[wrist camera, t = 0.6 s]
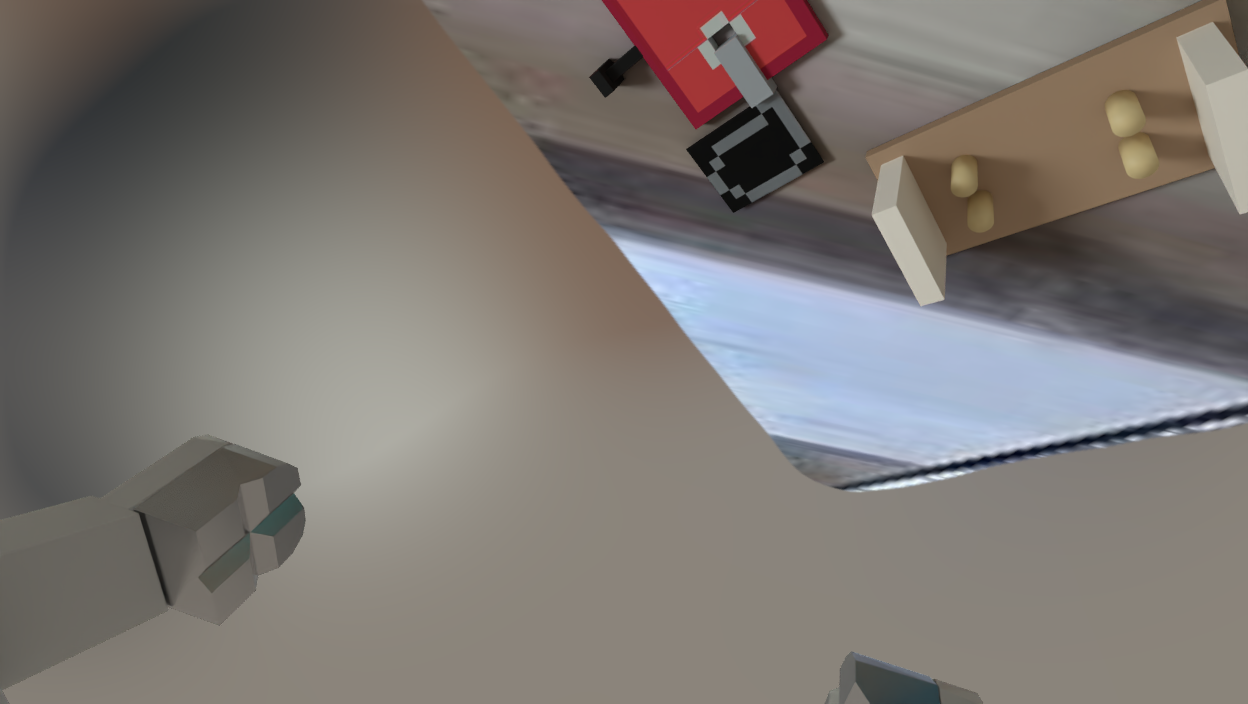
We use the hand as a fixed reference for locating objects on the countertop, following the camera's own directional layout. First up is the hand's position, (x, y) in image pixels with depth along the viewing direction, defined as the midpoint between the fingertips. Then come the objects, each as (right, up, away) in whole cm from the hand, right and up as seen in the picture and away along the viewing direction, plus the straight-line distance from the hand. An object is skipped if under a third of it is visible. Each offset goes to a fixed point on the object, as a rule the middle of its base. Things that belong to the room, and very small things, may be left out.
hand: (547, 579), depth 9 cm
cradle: (+29, +17, +36) cm, 49 cm away
